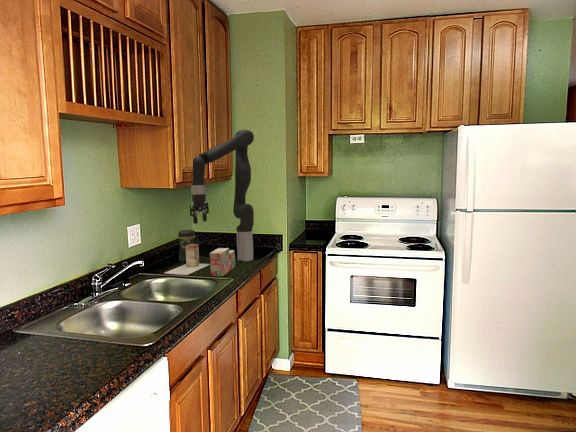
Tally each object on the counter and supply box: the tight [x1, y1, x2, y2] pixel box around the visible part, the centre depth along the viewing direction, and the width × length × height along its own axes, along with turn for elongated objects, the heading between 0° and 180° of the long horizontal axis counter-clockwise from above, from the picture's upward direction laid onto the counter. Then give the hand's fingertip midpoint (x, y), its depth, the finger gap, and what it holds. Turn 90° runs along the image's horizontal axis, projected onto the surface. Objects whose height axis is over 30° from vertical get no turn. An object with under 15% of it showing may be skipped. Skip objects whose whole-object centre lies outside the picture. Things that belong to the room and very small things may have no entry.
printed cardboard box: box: [209, 247, 236, 277], centre depth 229 cm, size 21×6×12 cm, turn 168°
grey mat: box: [164, 262, 210, 276], centre depth 234 cm, size 24×14×1 cm, turn 160°
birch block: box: [185, 243, 200, 268], centre depth 238 cm, size 5×5×12 cm
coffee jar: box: [177, 229, 196, 262], centre depth 254 cm, size 10×8×19 cm
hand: (200, 222), depth 240 cm, fingers open, 8 cm apart
